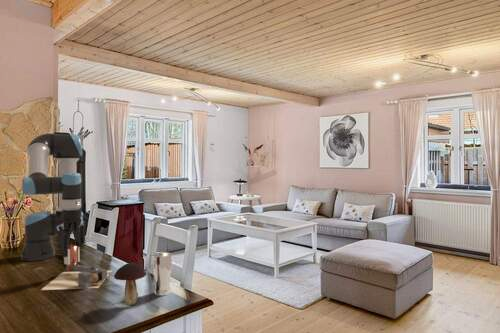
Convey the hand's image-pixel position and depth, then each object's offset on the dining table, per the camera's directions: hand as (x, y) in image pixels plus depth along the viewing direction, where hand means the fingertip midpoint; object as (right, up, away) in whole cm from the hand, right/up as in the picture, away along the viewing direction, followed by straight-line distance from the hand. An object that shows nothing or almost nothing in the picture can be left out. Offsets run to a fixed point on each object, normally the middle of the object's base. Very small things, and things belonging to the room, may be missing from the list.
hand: (71, 262), depth 149 cm
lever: (+8, -4, -4) cm, 10 cm away
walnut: (+14, -5, -10) cm, 18 cm away
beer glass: (+43, -8, -16) cm, 47 cm away
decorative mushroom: (+35, -8, -27) cm, 45 cm away
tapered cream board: (+6, -7, -6) cm, 11 cm away
